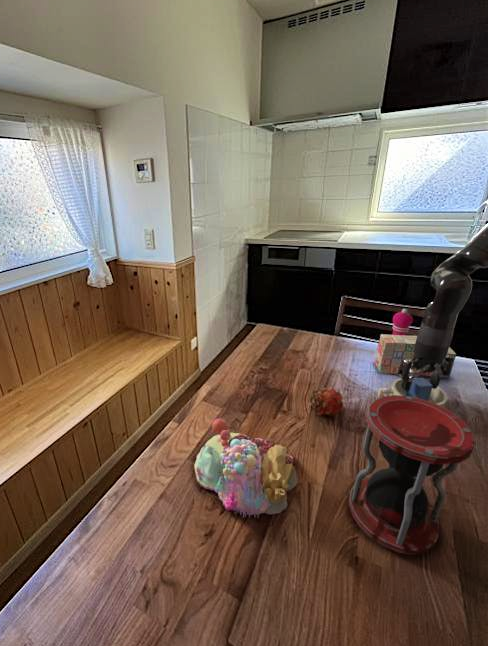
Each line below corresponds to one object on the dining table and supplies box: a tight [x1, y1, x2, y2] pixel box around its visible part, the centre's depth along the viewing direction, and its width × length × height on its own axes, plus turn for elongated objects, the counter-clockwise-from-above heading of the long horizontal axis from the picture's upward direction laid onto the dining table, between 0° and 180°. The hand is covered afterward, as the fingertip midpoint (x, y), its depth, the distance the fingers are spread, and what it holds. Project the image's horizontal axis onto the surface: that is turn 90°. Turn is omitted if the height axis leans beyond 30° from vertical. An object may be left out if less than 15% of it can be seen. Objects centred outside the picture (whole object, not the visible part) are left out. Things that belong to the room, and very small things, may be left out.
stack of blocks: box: [374, 333, 457, 379], centre depth 115 cm, size 21×6×12 cm, turn 76°
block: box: [406, 377, 433, 401], centre depth 99 cm, size 4×4×8 cm
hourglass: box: [348, 395, 476, 556], centre depth 65 cm, size 16×16×25 cm
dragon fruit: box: [309, 387, 344, 418], centre depth 99 cm, size 8×8×12 cm
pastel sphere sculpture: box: [193, 418, 299, 519], centre depth 80 cm, size 25×24×9 cm
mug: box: [376, 377, 449, 409], centre depth 100 cm, size 17×14×6 cm
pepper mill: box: [391, 308, 414, 335], centre depth 121 cm, size 7×7×20 cm
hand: (419, 388), depth 98 cm, fingers open, 8 cm apart
